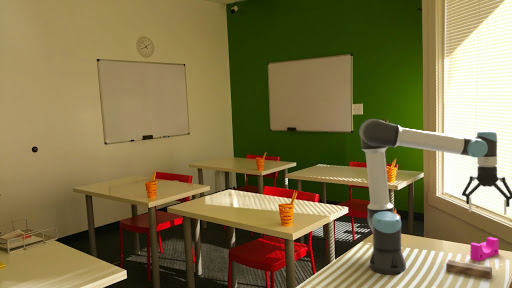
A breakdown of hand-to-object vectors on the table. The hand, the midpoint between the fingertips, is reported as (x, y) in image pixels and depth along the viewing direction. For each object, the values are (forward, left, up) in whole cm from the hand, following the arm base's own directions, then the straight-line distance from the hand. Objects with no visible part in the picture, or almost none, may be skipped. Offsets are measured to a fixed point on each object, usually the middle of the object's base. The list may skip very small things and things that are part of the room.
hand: (487, 212), depth 180 cm
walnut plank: (-4, -23, -20) cm, 31 cm away
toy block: (-2, -1, -21) cm, 21 cm away
